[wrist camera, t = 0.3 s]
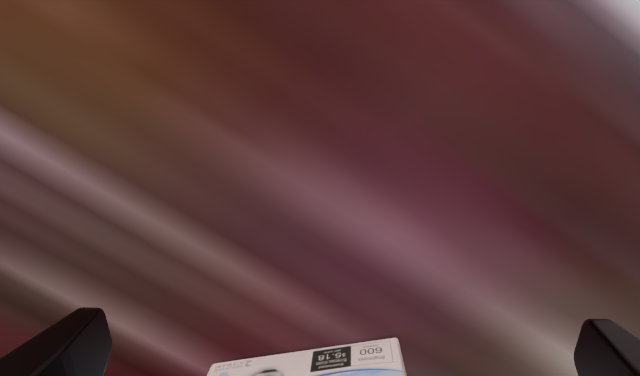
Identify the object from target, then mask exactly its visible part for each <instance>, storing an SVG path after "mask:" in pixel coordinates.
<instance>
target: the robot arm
mask: <svg viewBox="0 0 640 376" xmlns="http://www.w3.org/2000/svg"><path fill="white" fill-rule="evenodd" d="M111 349H112V339H111V335H110V331H109V327H108V323H107V320H106V316H105V313H104V311H103V310H102V309H100V308H85V307H83V308H79V309H77V310H75V311H74V312H72V313H70V314H69V315H67V316H66V317H64V318H63V319H61V320H60V321H58V322H56V323H55V324H53V325H52V326H50V327H49V328H47V329H46V330H44V331H42V332H41V333H39V334H38V335H36V336H35V337H33V338H32V339H30V340H29V341H27V342H25V343H24V344H22V345H21V346H19V347H18V348H16V349H15V350H13V351H11V352H10V353H8V354H7V355H5V356H4V357H2V358H1V359H0V376H103V375H104V372H105V369H106V366H107V363H108V360H109V357H110V354H111ZM574 362H575V366H576V370H577V373H578V376H640V339H638V338H637V337H635V336H634V335H632V334H631V333H629V332H628V331H627V330H625V329H624V328H622V327H621V326H619V325H618V324H616V323H615V322H613V321H611V320H608V319H588V320H586V321H585V322H584V323H583V325H582V328H581V331H580V334H579V338H578V341H577V344H576V348H575V351H574Z"/></svg>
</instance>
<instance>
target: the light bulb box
mask: <svg viewBox="0 0 640 376" xmlns="http://www.w3.org/2000/svg"><path fill="white" fill-rule="evenodd" d="M207 376H407V375H406V371H405V366H404V362H403V357H402V353H401V349H400V344H399V341H398V339H397V338H389V339H382V340H375V341H368V342H361V343H354V344H347V345H340V346H333V347H325V348H319V349H312V350H305V351H298V352H290V353H283V354H277V355H270V356H263V357H256V358H249V359H242V360H235V361H228V362H222V363H215V364H213V365H212V366H211V368H210V370H209V372H208V374H207Z"/></svg>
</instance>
